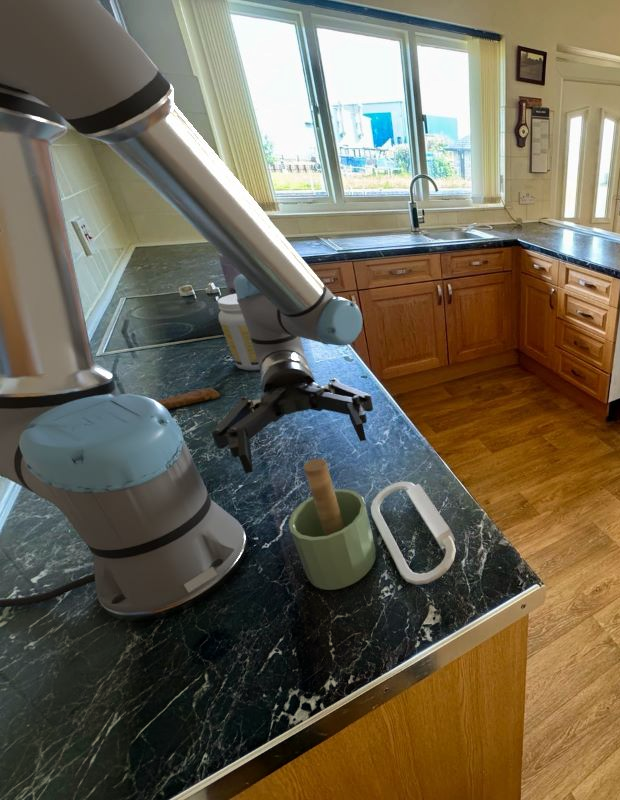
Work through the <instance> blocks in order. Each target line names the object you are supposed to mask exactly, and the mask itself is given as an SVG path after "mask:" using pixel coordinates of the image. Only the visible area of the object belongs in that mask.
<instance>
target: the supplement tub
mask: <svg viewBox="0 0 620 800" xmlns="http://www.w3.org/2000/svg"><path fill="white" fill-rule="evenodd" d="M217 305H218V309H219V310H220V311H219V313H218V316H217V317H218V322H219V323H220V324H219V325H220V326H221V329H222V332H223V335H224V338H225V340H226V343H227V345H228V348H229V351H230V353H231V356H232V360H233V363H234V364H235V366H236V367H237V368H238V369H240V370H245V371H260V368H259V364H258V360H257V357H256V354H255V351H254V348H253V345H252V341H251V338H250V334H249V331H248V328H247V325H246V323H245V320H244V317H243V314H242V311H241V309H240V306H239V303H238V302H237V295H236V294H231V295H229V294H228V295H224V296H222V297H220V298H218V299H217Z"/></svg>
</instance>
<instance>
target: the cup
mask: <svg viewBox="0 0 620 800" xmlns="http://www.w3.org/2000/svg"><path fill="white" fill-rule="evenodd" d="M334 491H335V495H336V499H337V502H338V506H339V510H340V513H341V517H342V520H343V524H344V529H342V530H341V531H338V532H336V533H333V534H330V535H328V536H325V535H324V532H323V528H322V525H321V522H320V519H319V516H318V512H317V509H316V506H315V503H314V500H313V496H312V495H311V496H310V497H308V498H307V499H305V500H304V501H302V502H301V503H299V505H298V506H297V507H296V508H294V510H293V511H292V513H291V515H290V518H289V519H288V527H289V532H290V535H291V537H292V540H293V543H294V545H295V548H296V551H297V554H298V557H299V559H300V562H301V564H302V567H303V570H304V573H305V576H306V578H307V579H308V581H309V583H311V585H312V586H314V587H316V588H318V589H321V590H326V591H333V590H339V589H344V588H347V587H349V586H351V585H354V584H355V583H357V582H359V581H360V580H362V579H363V578H364V577H365V576H366V575H367V574H368V573H369V571H371V569H372V567H373V565H374V563H375V561H376V557H377V552H376V551H377V549H376V545H375V540H374V537H373V532H372V526H371V524H370V519H369V513H368V510H367V506H366V502H365V501H364V497H363V496H362V495H360V494H359V493H358V492H356V491H355V490H349V489H344V488H338V489H334Z"/></svg>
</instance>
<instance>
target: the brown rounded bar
mask: <svg viewBox="0 0 620 800" xmlns="http://www.w3.org/2000/svg"><path fill="white" fill-rule="evenodd" d="M220 396H221V395H220V393H219V392H218V391H217V390H216V389H214V388H213V387H205V388H202V389H201V388H200V389H197V390H193V391H190V392H184V393H182V394H177V395H173V396H169V397H166V398H162V399H158V400H156V401H157V402H159V403H160V404H162V405H163V406H164V407H165V408H166V409H167V410H168V411H169V410H171V409H175V408H180V407H183V406H190V405H192V404H197V403H203V402H205V401H206V402H207V401H209V400H211V401H212V400H214V399H218V398H219V397H220Z"/></svg>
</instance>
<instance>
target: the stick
mask: <svg viewBox="0 0 620 800" xmlns="http://www.w3.org/2000/svg"><path fill="white" fill-rule="evenodd" d="M303 470H304V474H305V477H306V480H307V483H308V486H309V490H310V492H311V497H312V496H313V500H314V503H315V506H316V509H317V512H318V516H319V519H320V522H321V525H322V528H323V532H324V535H325V536H328V535H330V534H333V533H336V532H338V531H341V530H342V529H344V524H343V520H342V517H341V513H340V510H339V506H338V502H337V499H336V495H335V491H334V490H335V488H334V485H333V481H332V477H331V474H330V470H329V465H328V463H327V461H326V459H324V458H321V457H320V458H313V459H310V460H308V461H307V462H305V464H304V465H303Z"/></svg>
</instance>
